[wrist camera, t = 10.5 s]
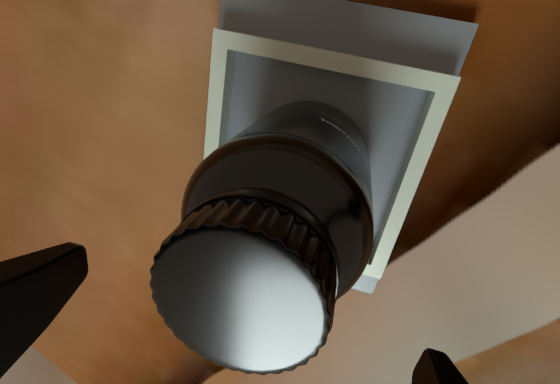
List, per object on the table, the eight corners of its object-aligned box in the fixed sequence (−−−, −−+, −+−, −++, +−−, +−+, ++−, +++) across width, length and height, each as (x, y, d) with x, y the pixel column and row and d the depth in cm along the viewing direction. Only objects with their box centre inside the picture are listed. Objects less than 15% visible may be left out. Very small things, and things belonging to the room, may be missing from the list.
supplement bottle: (385, 110, 17) (431, 229, 6) (352, 223, 20) (344, 435, 9) (256, 85, 18) (100, 150, 7) (243, 197, 21) (120, 362, 10)
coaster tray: (473, 25, 15) (488, 22, 13) (371, 286, 22) (372, 307, 20) (228, -19, 17) (213, -27, 15) (206, 239, 24) (193, 255, 22)
